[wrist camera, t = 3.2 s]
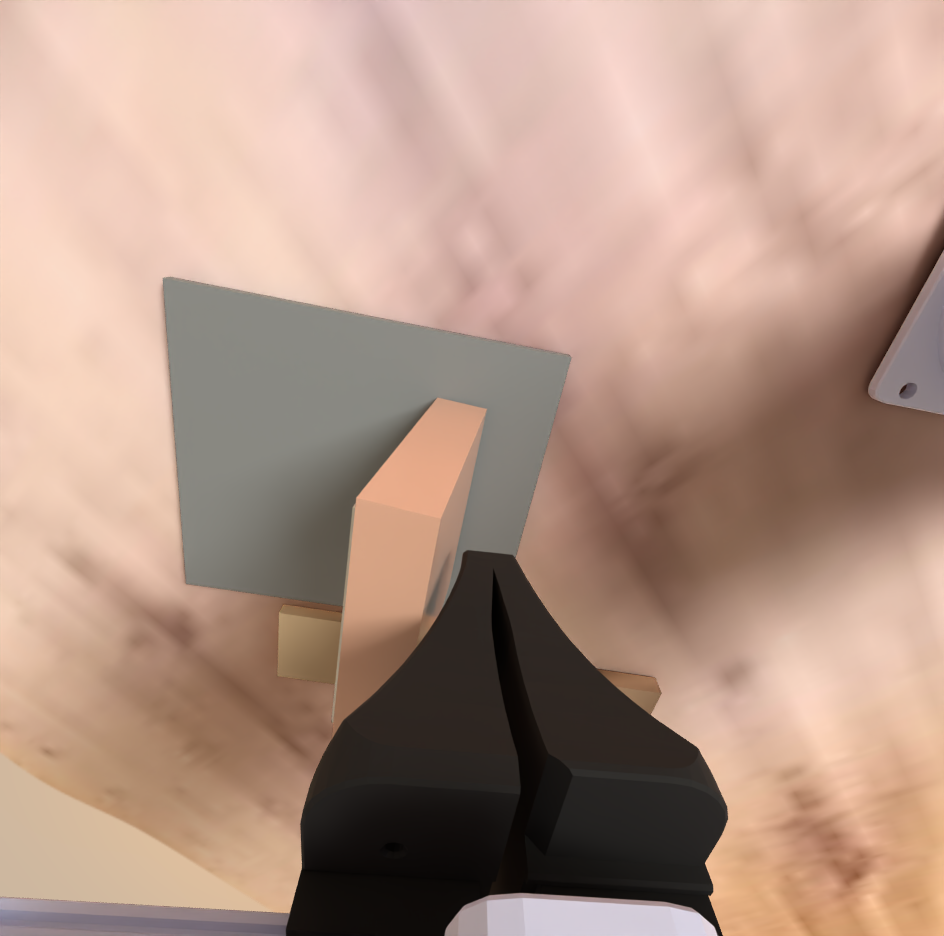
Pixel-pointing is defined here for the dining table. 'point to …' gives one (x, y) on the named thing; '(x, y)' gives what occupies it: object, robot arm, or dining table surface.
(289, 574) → the mat
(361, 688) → the tile
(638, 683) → the tan wooden bar
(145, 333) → the dining table surface
